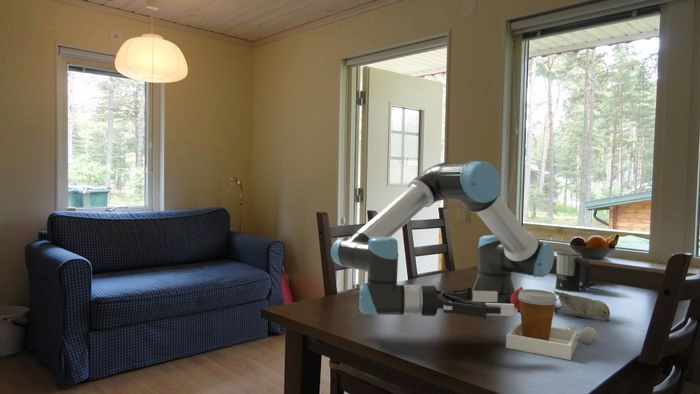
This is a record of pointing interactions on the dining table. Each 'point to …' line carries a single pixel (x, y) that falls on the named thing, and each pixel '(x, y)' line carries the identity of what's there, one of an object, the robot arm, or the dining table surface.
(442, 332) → the dining table surface
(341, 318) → the dining table surface
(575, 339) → the dish
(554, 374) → the dining table surface
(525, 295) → the disposable coffee cup
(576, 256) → the milk frother
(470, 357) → the dining table surface
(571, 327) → the pebble
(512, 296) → the red round fruit
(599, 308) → the decorative bird
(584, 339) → the pebble
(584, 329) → the pebble
